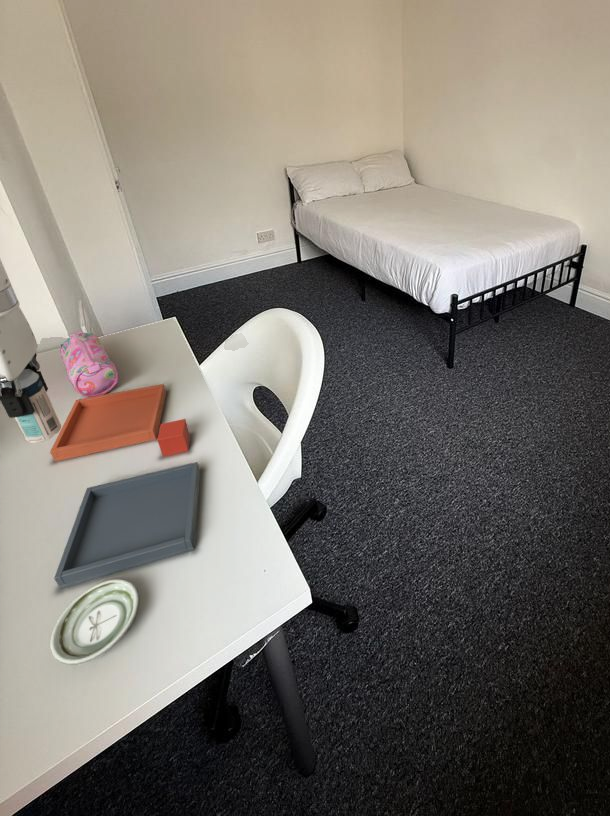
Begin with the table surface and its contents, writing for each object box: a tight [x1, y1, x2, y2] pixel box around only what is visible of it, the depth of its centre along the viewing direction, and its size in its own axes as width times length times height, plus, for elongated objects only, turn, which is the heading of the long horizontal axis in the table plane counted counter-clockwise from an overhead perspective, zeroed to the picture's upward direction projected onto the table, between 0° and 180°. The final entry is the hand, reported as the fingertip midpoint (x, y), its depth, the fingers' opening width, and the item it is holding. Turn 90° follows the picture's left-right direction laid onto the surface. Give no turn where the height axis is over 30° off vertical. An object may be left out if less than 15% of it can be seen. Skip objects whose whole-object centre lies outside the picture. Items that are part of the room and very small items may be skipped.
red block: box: [156, 418, 191, 458], centre depth 81 cm, size 4×4×4 cm
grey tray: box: [53, 461, 201, 590], centre depth 67 cm, size 18×16×3 cm
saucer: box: [49, 578, 140, 666], centre depth 54 cm, size 10×10×2 cm
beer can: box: [1, 369, 62, 444], centre depth 67 cm, size 5×5×12 cm
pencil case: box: [59, 330, 120, 398], centre depth 101 cm, size 21×9×9 cm, turn 41°
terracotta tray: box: [49, 383, 167, 462], centre depth 88 cm, size 18×16×3 cm
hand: (29, 402), depth 67 cm, fingers closed on beer can, 4 cm apart
